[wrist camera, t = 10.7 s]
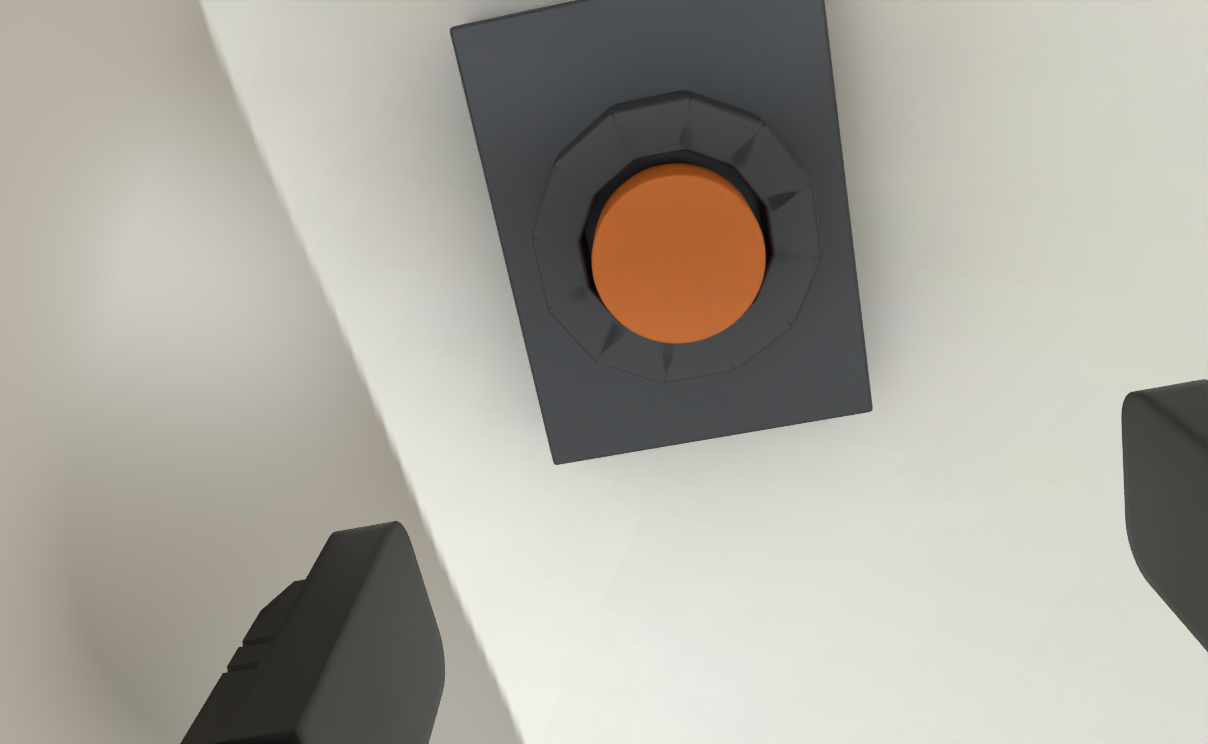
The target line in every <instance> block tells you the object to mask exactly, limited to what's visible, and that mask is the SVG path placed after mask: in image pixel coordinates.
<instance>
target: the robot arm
mask: <svg viewBox="0 0 1208 744" xmlns="http://www.w3.org/2000/svg"><path fill="white" fill-rule="evenodd" d="M1122 445H1123V470H1124V496H1125V520H1126V530H1127V535H1128V540H1129V544H1130V547H1131V551H1132V553H1133V556H1134V559H1135V561H1136V563H1137V566H1138V568H1139V570H1140V571H1141V573H1142V575H1143V576H1144V578H1145V579H1146V581H1147V582H1148V583H1149V584H1150V585H1151V587H1152V588H1153V589H1154V590H1155V591H1156V592H1157V594H1158V595H1159V596H1160V597H1161V598H1162V599H1163V600H1164V602H1165V603H1166V604H1167V605H1168V606H1169V607H1170V609H1171V610H1172V611H1173V612H1174V613H1175V614H1176V616H1177V617H1178V618H1179V619H1180V620H1181V621H1182V623H1183V624H1184V625H1185V626H1186V627H1187V628H1188V630H1189V631H1190V632H1191V633H1192V634H1193V635H1194V637H1195V638H1196V639H1197V640H1198V641H1199V642H1200V643H1201V645H1202V646H1203V647H1204V648H1205V649H1206V650H1207V652H1208V380H1205V379H1203V380H1197V381H1191V382H1186V383H1180V384H1174V385H1169V386H1163V387H1157V388H1152V389H1146V390H1140V391H1135V392H1130V393H1129V394H1128V395H1127V396H1126V397H1125V400H1124V402H1123V406H1122ZM242 642H243V647H239V648H238V649H237V651H236V653H235V654H234V656H233V658H232V659H231V661H230V662H229V664H228V666H227V669H228V672H227V673H223V674H222V676H221V677H220V679H219V681H218V682H217V684H216V686H215V687H214V689H213V691H212V692H211V694H210V696H209V697H208V699H207V701H206V702H205V704H204V706H203V707H202V709H201V710H200V712H199V714H198V716H197V717H196V719H195V720H194V722H193V724H192V725H191V727H190V729H189V730H188V732H187V734H186V735H185V737H184V739H183V740H182V742H181V743H180V744H429V740H430V736H431V733H432V729H433V725H434V722H435V718H436V715H437V711H438V707H439V704H440V700H441V696H442V693H443V688H444V681H445V661H444V651H443V645H442V640H441V636H440V632H439V629H438V626H437V623H436V619H435V617H434V613H433V610H432V607H431V604H430V601H429V598H428V594H427V591H426V588H425V585H424V582H423V579H422V575H421V572H420V569H419V566H418V563H417V560H416V556H415V553H414V550H413V547H412V544H411V541H410V538H409V536H408V534H407V531H406V530H405V528H404V527H403V525H402V524H401V523H399V522H397V521H394V522H388V523H382V524H376V525H371V526H365V527H360V528H354V529H348V530H343V531H337V532H334V533H332V534H331V536H330V537H329V539H328V540H327V542H326V544H325V546H324V548H323V549H322V551H321V553H320V555H319V557H318V558H317V560H316V562H315V564H314V565H313V567H312V569H311V571H310V573H309V574H308V576H307V578H306V580H300V581H294V582H293V583H292V584H291V585H290V586H288V587H287V588H286V589H285V590H284V591H283V592H282V593H280V594H279V595H278V596H277V597H276V598H275V599H274V600H272V601H271V602H270V603H269V604H268V605H267V606H266V607H264V608H263V609H262V610H261V611H260V613H259V614H258V616H257V618H256V619H255V621H254V623H253V624H252V626H251V628H250V630H249V631H248V633H247V634H246V636H245V638H244V639H243V641H242Z"/></svg>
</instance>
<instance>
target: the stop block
mask: <svg viewBox="0 0 1208 744" xmlns="http://www.w3.org/2000/svg"><path fill="white" fill-rule="evenodd" d="M450 34H451V38H452V43H453V47H454V51H455V55H456V59H457V63H458V68H459V72H460V76H461V80H462V84H463V88H464V93H465V97H466V101H467V105H468V109H469V113H470V118H471V122H472V126H473V130H474V134H475V138H476V142H477V147H478V151H479V155H480V159H481V163H482V167H483V172H484V176H485V180H486V184H487V188H488V192H489V197H490V201H491V205H492V209H493V213H494V217H495V222H496V226H497V230H498V234H499V238H500V242H501V246H502V251H503V255H504V259H505V263H506V267H507V271H508V276H509V280H510V284H511V288H512V292H513V296H514V301H515V305H516V309H517V313H518V317H519V321H520V325H521V330H522V334H523V338H524V342H525V346H526V350H527V355H528V359H529V363H530V367H531V371H532V375H533V380H534V384H535V388H536V392H537V396H538V400H539V405H540V409H541V413H542V417H543V421H544V425H545V429H546V434H547V438H548V442H549V446H550V450H551V454H552V459H553V462H554V464H555V465H559V464H564V463H570V462H576V461H582V460H588V459H594V458H600V457H606V456H612V455H618V454H624V453H629V452H635V451H641V450H647V449H653V448H659V447H665V446H671V445H677V444H683V443H689V442H694V441H700V440H706V439H712V438H718V437H724V436H730V435H736V434H742V433H748V432H754V431H759V430H765V429H771V428H777V427H783V426H789V425H795V424H801V423H807V422H813V421H819V420H824V419H830V418H836V417H842V416H848V415H854V414H860V413H866V412H871V411H872V408H873V407H872V399H871V390H870V382H869V373H868V365H867V356H866V348H865V339H864V331H863V323H862V314H861V306H860V297H859V289H858V280H857V272H856V263H855V255H854V247H853V238H852V230H851V221H850V213H849V204H848V196H847V187H846V179H845V171H844V162H843V154H842V145H841V137H840V128H839V120H838V111H837V103H836V95H835V86H834V78H833V69H832V61H831V52H830V44H829V35H828V27H827V18H826V10H825V2H824V0H575V1H570V2H566V3H561V4H556V5H552V6H547V7H542V8H538V9H533V10H528V11H524V12H519V13H515V14H510V15H505V16H501V17H496V18H491V19H487V20H482V21H477V22H473V23H468V24H463V25H459V26H454V27H452V28H450ZM668 163H687V164H694V165H698V166H701V167H705V168H707V169H710V170H712V171H714V172H716V173H718V174H720V175H721V176H723V177H724V178H726V179H727V180H728V181H730V182H731V183H732V184H733V185H734V186H735V187H736V188H737V189H738V190H739V191H740V192H741V194H742V195H743V197H744V198H745V199H746V201H747V203H748V205H749V207H750V208H751V210H752V212H753V214H754V216H755V218H756V220H757V222H758V224H759V226H760V229H761V232H762V235H763V239H764V244H765V253H766V261H765V271H764V276H763V280H762V283H761V286H760V289H759V291H758V293H757V295H756V297H755V299H754V301H753V302H752V304H751V305H750V307H749V308H748V309H747V311H746V312H745V313H744V314H743V315H742V316H741V317H740V318H739V319H738V320H737V321H736V322H735V323H734V324H732V325H731V326H730V327H728V328H727V329H725V330H724V331H722V332H720V333H718V334H716V335H714V336H712V337H709V338H707V339H704V340H700V341H696V342H691V343H682V344H681V343H664V342H658V341H654V340H651V339H648V338H645V337H643V336H640V335H638V334H636V333H635V332H633V331H631V330H629V329H628V328H627V327H625V326H624V325H623V324H621V323H620V322H619V321H618V320H617V319H616V318H615V317H614V316H613V315H612V314H611V313H610V311H609V310H608V309H607V308H606V306H605V304H604V303H603V301H602V299H601V298H600V295H599V293H598V291H597V288H596V285H595V282H594V278H593V272H592V249H593V242H594V237H595V231H596V227H597V223H598V219H599V217H600V214H601V212H602V209H603V208H604V206H605V204H606V202H607V201H608V199H609V198H610V197H611V195H612V194H613V193H614V191H615V190H616V189H617V188H618V187H619V186H620V185H621V184H622V183H624V182H625V181H626V180H628V179H629V178H630V177H632V176H633V175H635V174H637V173H639V172H640V171H643V170H645V169H648V168H650V167H653V166H657V165H661V164H668Z"/></svg>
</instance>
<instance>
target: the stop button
mask: <svg viewBox="0 0 1208 744" xmlns="http://www.w3.org/2000/svg"><path fill="white" fill-rule="evenodd" d="M765 261H766V253H765V244H764V239H763V235H762V232H761V229H760V226H759V224H758V222H757V220H756V218H755V216H754V214H753V212H752V210H751V208H750V207H749V205H748V203H747V201H746V199H745V198H744V197H743V195H742V194H741V192H740V191H739V190H738V189H737V188H736V187H735V186H734V185H733V184H732V183H731V182H730V181H728V180H727V179H726V178H724V177H723V176H721V175H720V174H718V173H716V172H714V171H712V170H710V169H707V168H705V167H701V166H698V165H694V164H687V163H668V164H661V165H657V166H653V167H650V168H648V169H645V170H643V171H640V172H639V173H637V174H635V175H633V176H632V177H630V178H629V179H628V180H626V181H625V182H624V183H622V184H621V185H620V186H619V187H618V188H617V189H616V190H615V191H614V193H613V194H612V195H611V197H610V198H609V199H608V201H607V202H606V204H605V206H604V208H603V209H602V212H601V214H600V217H599V219H598V223H597V227H596V231H595V237H594V242H593V249H592V272H593V278H594V282H595V285H596V288H597V291H598V293H599V295H600V298H601V299H602V301H603V303H604V304H605V306H606V308H607V309H608V310H609V311H610V313H611V314H612V315H613V316H614V317H615V318H616V319H617V320H618V321H619V322H620V323H621V324H623V325H624V326H625V327H627V328H628V329H629V330H631V331H633V332H635V333H636V334H638V335H640V336H643V337H645V338H648V339H651V340H654V341H658V342H664V343H681V344H682V343H691V342H696V341H700V340H704V339H707V338H709V337H712V336H714V335H716V334H718V333H720V332H722V331H724V330H725V329H727V328H728V327H730V326H731V325H732V324H734V323H735V322H736V321H737V320H738V319H739V318H740V317H741V316H742V315H743V314H744V313H745V312H746V311H747V309H748V308H749V307H750V305H751V304H752V302H753V301H754V299H755V297H756V295H757V293H758V291H759V289H760V286H761V283H762V280H763V276H764V271H765Z"/></svg>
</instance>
